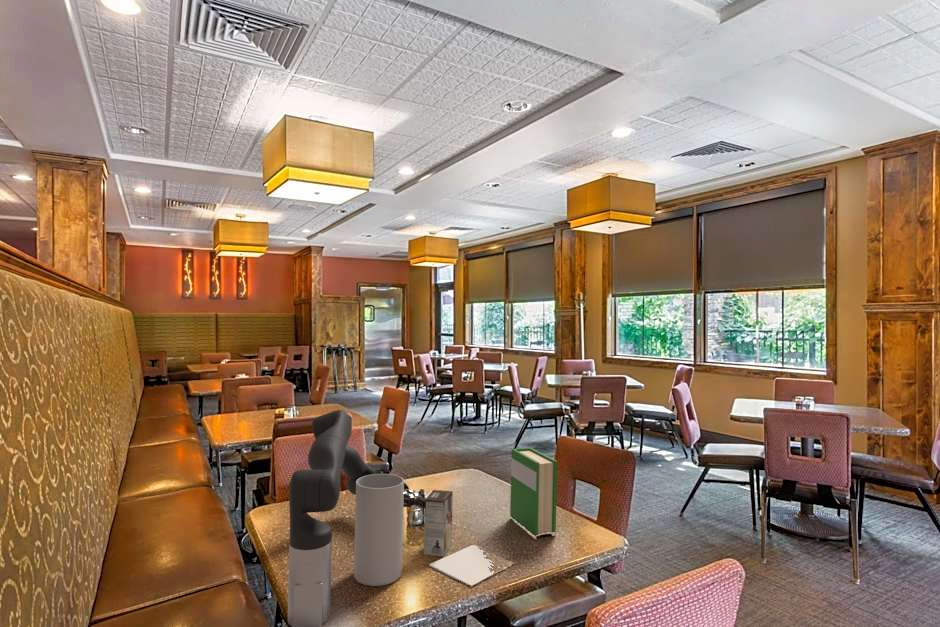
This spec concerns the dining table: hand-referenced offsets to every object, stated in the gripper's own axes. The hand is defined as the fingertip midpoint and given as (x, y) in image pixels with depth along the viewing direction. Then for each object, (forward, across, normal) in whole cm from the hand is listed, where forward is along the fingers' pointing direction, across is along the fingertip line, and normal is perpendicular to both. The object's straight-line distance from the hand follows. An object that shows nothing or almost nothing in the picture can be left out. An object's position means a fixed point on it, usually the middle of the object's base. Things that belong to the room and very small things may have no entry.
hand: (427, 504), depth 158 cm
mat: (+19, 0, +12) cm, 22 cm away
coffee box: (+5, 0, +12) cm, 13 cm away
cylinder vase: (+5, -22, +12) cm, 26 cm away
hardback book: (+15, +34, +12) cm, 39 cm away
